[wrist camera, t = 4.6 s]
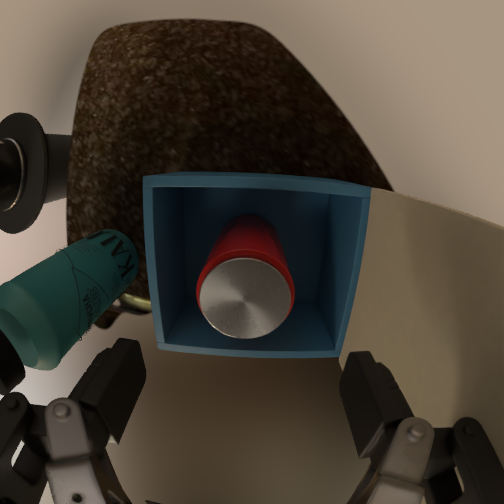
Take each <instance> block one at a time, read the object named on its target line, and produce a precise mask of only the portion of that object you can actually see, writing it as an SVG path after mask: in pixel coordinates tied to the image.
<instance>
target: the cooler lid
mask: <svg viewBox="0 0 504 504" xmlns="http://www.w3.org/2000/svg"><path fill="white" fill-rule="evenodd" d="M354 351H370V352H371V354H372V356H373V358H374V360H375V361H376V363H377V362H381V363H382V364H384V365H385V366H386V367H387V368H388V369H389V370H390V371H391V373H392V375H393V376H394V378H395V381H396V382H397V384H398V386H399V389H401V391H402V393H403V395H404V397H405V399H406V401H407V403H408V404H409V406H410V408H411V410H412V412H413V414H414V416H415V417H419V418H423V419H425V420H426V421H428V422H429V423H430V424H431V425H432V427H433V428H446V427H453V425H454V424H455V423H456V422H457V421H458V420H459V419H460V418H463V417H471V418H474V419H476V420H477V421H478V422H479V423H480V424H481V425H482V427H483V429H484V431H485V433H486V435H487V436H488V438H489V440H490V442H491V444H492V446H493V448H494V450H495V452H496V454H497V456H498V458H499V460H500V462H501V465H502V467H503V469H504V227H502V226H499V225H497V224H494V223H492V222H489V221H486V220H484V219H481V218H478V217H475V216H472V215H469V214H467V213H464V212H461V211H457V210H454V209H451V208H448V207H445V206H442V205H438V204H435V203H431V202H428V201H425V200H421V199H417V198H414V197H410V196H406V195H403V194H399V193H395V192H391V191H387V190H383V189H377V188H372V189H371V199H370V208H369V216H368V224H367V231H366V238H365V244H364V251H363V256H362V262H361V268H360V273H359V278H358V283H357V288H356V293H355V298H354V302H353V307H352V311H351V315H350V320H349V324H348V328H347V332H346V336H345V339H344V343H343V347H342V350H341V354H340V357H339V363H340V365H341V368H342V371H343V370H344V366H345V363H346V360H347V357H348V354H349V353H350V352H354ZM454 469H455V472H456V474H457V477H458V480H459V482H460V485H461V488H462V491H464V485H463V482H462V479H461V477H460V474H459V472H458V469H457V467H455V468H454ZM421 504H426V501H425V498H424V496H423V499H422V502H421Z"/></svg>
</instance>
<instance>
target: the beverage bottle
mask: <svg viewBox="0 0 504 504" xmlns="http://www.w3.org/2000/svg"><path fill="white" fill-rule="evenodd" d="M95 232H96V231H95ZM88 235H89V234H88ZM138 266H139V258H138V254H137V251H136V248H135V246H134V245H133V243H132V242H131V240H130V239H129V238H128V237H127V236H126V235H124V234H123V233H121V232H119V231H116V230H113V229H112V230H111V229H108V228H107V229H106V228H103V230H101V231H98V232H96V233H94V234H93V233H92V234H90V236H88V237H86V238H84V239H83V238H81V239H80V241H78V242H76V243H75V242H74V244H71V245H70V246H68V247H66V248H64V249H62V250H60V251H59V252H57V253H55V254H54V255H52V256H51V257H49V258H47V259H45V260H43V261H42V262H40V263H38V264H36V265H35V266H33V267H31V268H30V269H28V270H26V271H25V272H23V273H21V274H20V275H18V276H16V277H15V278H13V279H12V280H10V281H8V282H5V283H3V284H2V285H1V286H0V394H1V395H4V396H5V395H6V394H8V393H10V392H11V390H12V389H13V388H14V387H15V386H16V385H18V384H20V383H21V382H22V380H23V379H24V378H25V368H24V365H25V366H28V367H31V368H34V369H39V370H52V369H54V368H56V367H57V366H58V364H59V363H60V361H61V359H62V358H63V356H65V354H66V353H67V352H68V351H69V350H70V349H71V347H72V346H73V345H74V344H75V343H76V342H77V341H78V340H79V339H80V338H81V340H82V335H83V334H84V333H85V332H86V331H88V329H89V328H90V327H91V326H92V324H93V323H94V322H95V321H96V320H98V318H99V317H100V315H101V314H102V313H103V312H104V311H105V310H106V309H107V308H108V307H109V306H110V305H111V304H112V303H113V302H114V301H115V300H116V299H117V298H118V297H119V296H120V294H121V293H122V294H123V293H124V292H125V291H126V290H125V289H128V287H129V286H130V284H131V283H132V281H133V280H134V279H135V277H137V276H136V274H138V273H137V271H138ZM128 285H129V286H128ZM131 285H132V284H131ZM124 290H125V291H124ZM123 291H124V292H123ZM122 294H121V295H122ZM111 306H112V305H111ZM90 329H91V328H90ZM86 333H87V332H86Z"/></svg>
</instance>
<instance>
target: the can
mask: <svg viewBox="0 0 504 504" xmlns="http://www.w3.org/2000/svg"><path fill="white" fill-rule="evenodd" d="M196 297H197V302H198V305H199V308H200V310H201V312H202V313H203V315H204V316H205V318H206V319H207V320H208V322H209V323H210V324H211V325H212V326H213V327H214V328H216V329H217V330H218V331H220V332H222V333H224V334H226V335H228V336H231V337H236V338H243V339H249V338H256V337H260V336H263V335H266V334H268V333H270V332H272V331H273V330H275V329H276V328H277V327H278V326H279V325H280V324H281V323H282V322H283V321H284V320H285V319H286V317H287V316H288V315H289V313H290V311H291V309H292V306H293V304H294V299H295V288H294V283H293V279H292V276H291V273H290V270H289V267H288V264H287V261H286V258H285V254H284V251H283V248H282V245H281V242H280V239H279V236H278V233H277V231H276V229H275V228H274V226H273V225H272V224H271V223H270V222H269V221H268V220H266V219H265V218H263V217H260V216H258V215H253V214H245V215H240V216H237V217H235V218H233V219H231V220H230V221H229V222H227V223H226V225H225V226H224V227H223V229H222V230H221V232H220V234H219V236H218V238H217V240H216V242H215V244H214V247H213V249H212V251H211V253H210V255H209V257H208V259H207V261H206V263H205V265H204V267H203V269H202V271H201V273H200V276H199V278H198V281H197V286H196Z"/></svg>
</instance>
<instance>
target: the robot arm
mask: <svg viewBox="0 0 504 504" xmlns="http://www.w3.org/2000/svg"><path fill="white" fill-rule="evenodd" d="M26 180H27V160H26V155H25V151H24V148H23V146H22V144H21V143H20V142H19V141H18V140H17V139H15V138H4V139H0V211H6V210H9V209H12V208H14V207H15V206H16V205H17V204H18V203H19V201H20V200H21V198H22V196H23V193H24V190H25V186H26ZM145 380H146V368H145V364H144V360H143V356H142V352H141V347H140V344H139V342H138V341H137V340H131V339H125V338H119V339H118V340H117V341H116V343H115V344H114V345H113V347H112V348H106V349H105V350H103V351H102V352H101V353H99V354H97V356H96V357H95V359H94V360H93V362H92V363H91V365H90V366H89V367H88V369H87V371H86V372H85V373H84V374H83V376H82V377H81V379H80V380H79V381H78V383H77V384H76V386H75V387H74V389H73V390H72V392H71V394H70V395H69V396H68V398H58V399H55V400H53V401H51V402H50V403H49V404H48V405H47V406H42V405H34V404H30V403H29V402H28V400H27V398H26V397H25V396H24V395H23V394H22V393H19V392H11V393H8V394H6V395H5V396H4V397H3V398H2V399H1V400H0V504H39V502H40V499H41V496H42V494H43V491H44V489H45V486H46V483H47V481H48V482H49V487H50V490H51V494H52V497H53V501H54V504H132V503H131V501H130V500H129V498H128V497H127V495H126V494H125V492H124V491H123V489H122V487H121V485H120V482H119V480H118V478H117V476H116V473H115V471H114V469H113V466H112V464H111V461H110V459H109V456H108V453H107V451H106V449H105V447H106V445H107V443H108V442H110V443H113V444H117V445H118V444H119V442H120V439H121V437H122V434H123V432H124V430H125V427H126V425H127V422H128V420H129V418H130V415H131V413H132V411H133V409H134V406H135V404H136V402H137V400H138V397H139V395H140V393H141V391H142V388H143V386H144V384H145ZM339 392H340V396H341V399H342V402H343V406H344V409H345V412H346V415H347V419H348V422H349V425H350V429H351V432H352V435H353V439H354V443H355V446H356V449H357V453H358V456H359V459H362V458H367V457H370V460H371V463H370V465H369V466H368V468H367V470H366V472H365V474H364V476H363V478H362V480H361V481H360V483H359V485H358V486H357V488H356V490H355V491H354V493H353V495H352V497H351V498H350V500H349V501H348V503H347V504H421V502H422V499H423V496H424V498H425V501H426V504H504V469H503V467H502V465H501V462H500V460H499V458H498V456H497V454H496V452H495V450H494V448H493V446H492V444H491V442H490V440H489V438H488V436H487V435H486V433H485V431H484V429H483V427H482V425H481V424H480V423H479V422H478V421H477V420H476V419H474V418H471V417H463V418H460V419H459V420H458V421H457V422H456V423H455V424H454V425H453V427H446V428H433V427H432V425H431V424H430V423H429V422H428V421H426V420H425V419H423V418H419V417H415V416H414V414H413V412H412V410H411V408H410V406H409V404H408V403H407V401H406V399H405V397H404V395H403V393H402V391H401V389H399V386H398V384H397V382H396V381H395V378H394V376H393V375H392V373H391V371H390V370H389V369H388V368H387V367H386V366H385V365H384V364H382V363H381V362H377V363H376V361H375V360H374V358H373V356H372V354H371V352H370V351H354V352H350V353H349V354H348V357H347V360H346V363H345V366H344V370H343V373H342V376H341V379H340V383H339ZM21 440H22V441H23V442H24V446H23V448H22V450H21V451H20V453H19V456H18V457H17V459H16V462H15V464H14V466H13V467H12V465H11V459H12V457H13V455H14V453H15V451H16V449H17V447H18V445H19V443H20V442H21ZM455 467H457V469H458V472H459V474H460V477H461V479H462V482H463V485H464V491H462V488H461V485H460V482H459V480H458V477H457V474H456V472H455V469H454V468H455Z"/></svg>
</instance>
